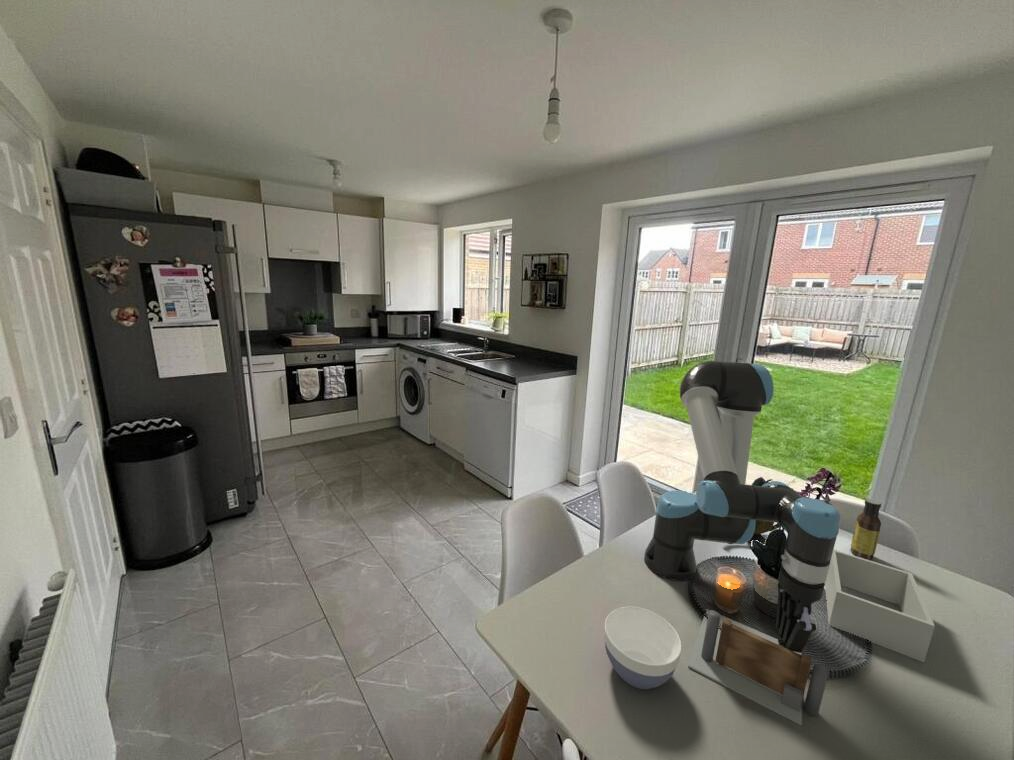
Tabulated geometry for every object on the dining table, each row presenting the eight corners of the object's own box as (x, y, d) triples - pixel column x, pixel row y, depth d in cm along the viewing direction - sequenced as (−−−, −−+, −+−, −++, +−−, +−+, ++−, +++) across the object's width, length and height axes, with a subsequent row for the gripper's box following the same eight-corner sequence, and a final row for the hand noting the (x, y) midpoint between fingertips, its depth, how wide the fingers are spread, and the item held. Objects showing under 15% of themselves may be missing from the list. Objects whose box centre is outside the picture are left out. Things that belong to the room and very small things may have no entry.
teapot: (784, 543, 144) (797, 482, 139) (728, 553, 136) (739, 488, 132) (755, 525, 155) (765, 468, 150) (701, 533, 147) (711, 473, 143)
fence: (688, 667, 92) (695, 621, 90) (706, 610, 110) (712, 570, 108) (819, 734, 79) (832, 683, 77) (815, 657, 97) (825, 613, 94)
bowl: (667, 720, 80) (674, 680, 78) (590, 678, 88) (594, 640, 86) (681, 662, 93) (687, 626, 91) (613, 630, 101) (617, 596, 100)
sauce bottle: (858, 548, 143) (871, 496, 139) (878, 559, 137) (892, 505, 133) (844, 550, 142) (857, 497, 138) (863, 561, 136) (877, 506, 132)
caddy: (828, 625, 107) (836, 591, 105) (824, 577, 126) (830, 548, 124) (924, 662, 97) (934, 626, 95) (903, 604, 116) (911, 573, 114)
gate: (715, 661, 93) (722, 621, 91) (716, 656, 94) (723, 617, 92) (801, 705, 83) (811, 662, 81) (801, 699, 85) (811, 657, 83)
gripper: (771, 551, 91) (753, 640, 96) (794, 590, 79) (772, 689, 84) (809, 558, 89) (789, 648, 94) (839, 598, 77) (814, 699, 82)
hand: (781, 667), depth 89 cm, fingers closed
